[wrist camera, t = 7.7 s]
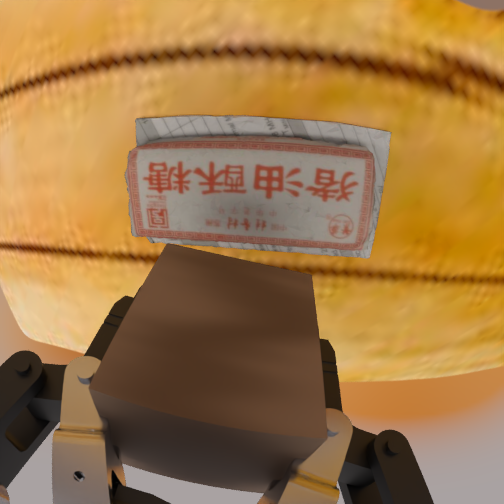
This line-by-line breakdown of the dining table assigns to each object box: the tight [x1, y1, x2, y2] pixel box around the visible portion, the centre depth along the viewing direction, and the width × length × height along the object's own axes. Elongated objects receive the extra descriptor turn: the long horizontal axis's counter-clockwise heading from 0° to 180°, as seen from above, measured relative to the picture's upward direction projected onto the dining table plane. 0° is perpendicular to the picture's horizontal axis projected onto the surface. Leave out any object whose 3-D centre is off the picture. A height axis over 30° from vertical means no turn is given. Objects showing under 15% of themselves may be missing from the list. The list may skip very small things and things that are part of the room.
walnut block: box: [88, 243, 328, 493], centre depth 9 cm, size 5×5×6 cm
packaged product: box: [125, 115, 392, 258], centre depth 21 cm, size 18×5×10 cm
